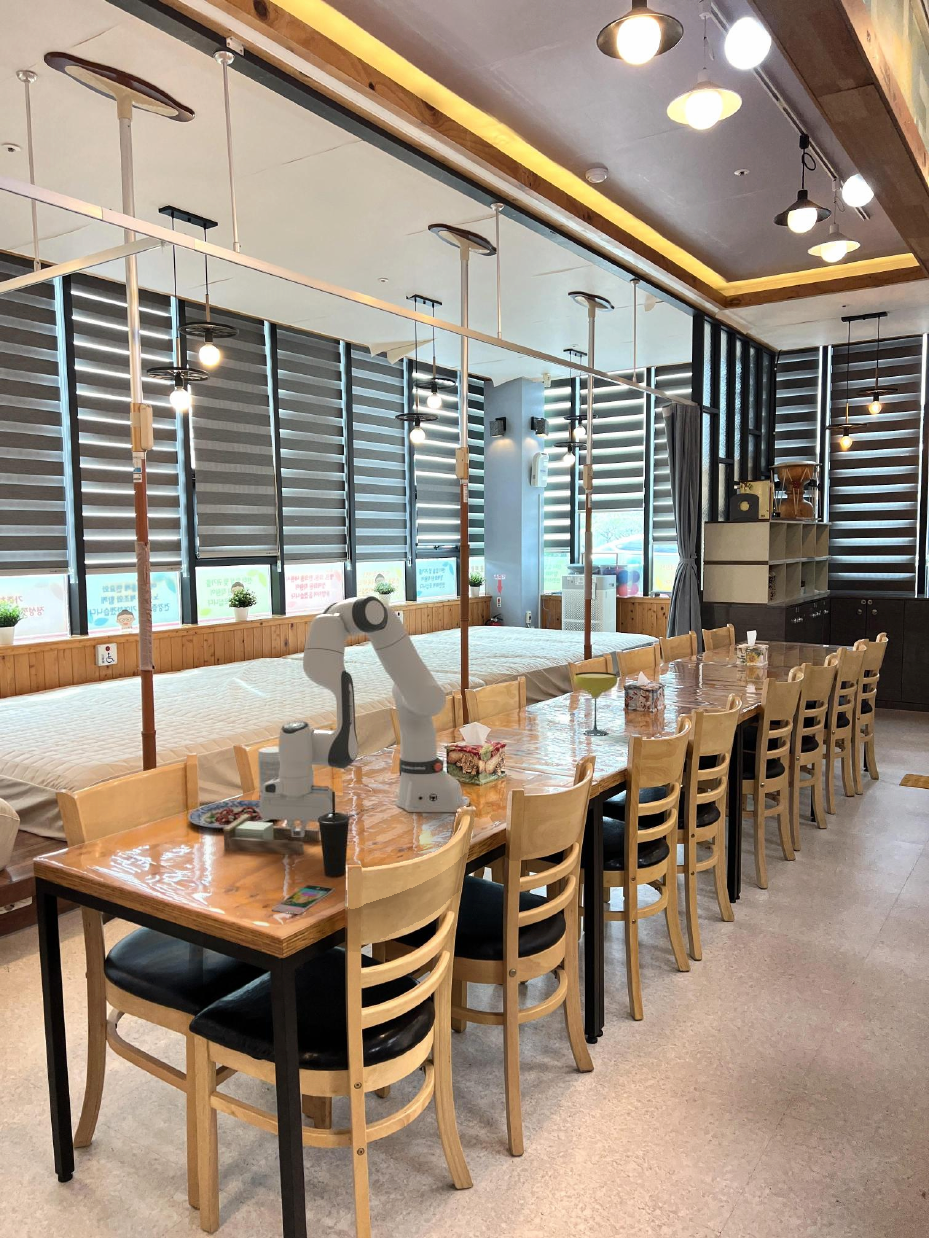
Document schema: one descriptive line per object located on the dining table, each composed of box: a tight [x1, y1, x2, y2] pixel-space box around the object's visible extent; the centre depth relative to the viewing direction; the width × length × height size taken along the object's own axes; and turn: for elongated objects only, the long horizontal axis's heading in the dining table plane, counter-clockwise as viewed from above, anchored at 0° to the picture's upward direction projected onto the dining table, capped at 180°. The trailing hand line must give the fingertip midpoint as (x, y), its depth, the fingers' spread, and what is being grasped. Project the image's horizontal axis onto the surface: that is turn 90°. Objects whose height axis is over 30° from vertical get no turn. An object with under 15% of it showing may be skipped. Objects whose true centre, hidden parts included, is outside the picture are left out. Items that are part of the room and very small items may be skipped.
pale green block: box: [235, 821, 274, 840], centre depth 229 cm, size 8×7×5 cm
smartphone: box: [271, 884, 335, 914], centre depth 192 cm, size 7×1×15 cm
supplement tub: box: [257, 745, 280, 796], centre depth 275 cm, size 10×10×15 cm
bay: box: [222, 814, 321, 856], centre depth 228 cm, size 22×12×6 cm, turn 77°
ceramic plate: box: [188, 799, 272, 829], centre depth 250 cm, size 26×26×3 cm
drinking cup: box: [317, 791, 351, 878], centre depth 206 cm, size 8×8×20 cm
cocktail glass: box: [573, 671, 618, 735], centre depth 364 cm, size 18×18×25 cm
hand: (298, 836), depth 227 cm, fingers closed
